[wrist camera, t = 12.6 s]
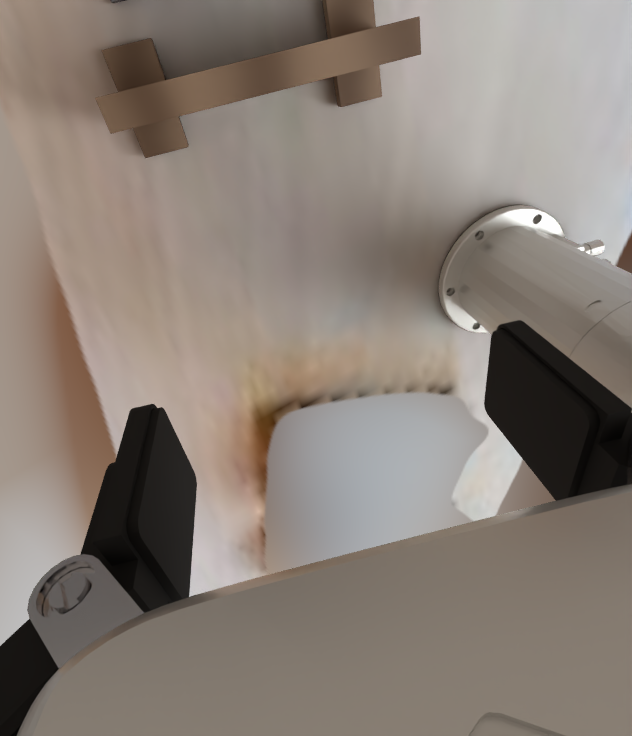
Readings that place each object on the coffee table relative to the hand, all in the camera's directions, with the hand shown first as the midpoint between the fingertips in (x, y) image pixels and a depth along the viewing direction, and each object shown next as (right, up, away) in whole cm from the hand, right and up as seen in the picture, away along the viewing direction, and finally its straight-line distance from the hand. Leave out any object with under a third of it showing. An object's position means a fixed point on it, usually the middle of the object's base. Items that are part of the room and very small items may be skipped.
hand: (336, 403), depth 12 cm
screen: (-5, +21, +16) cm, 27 cm away
